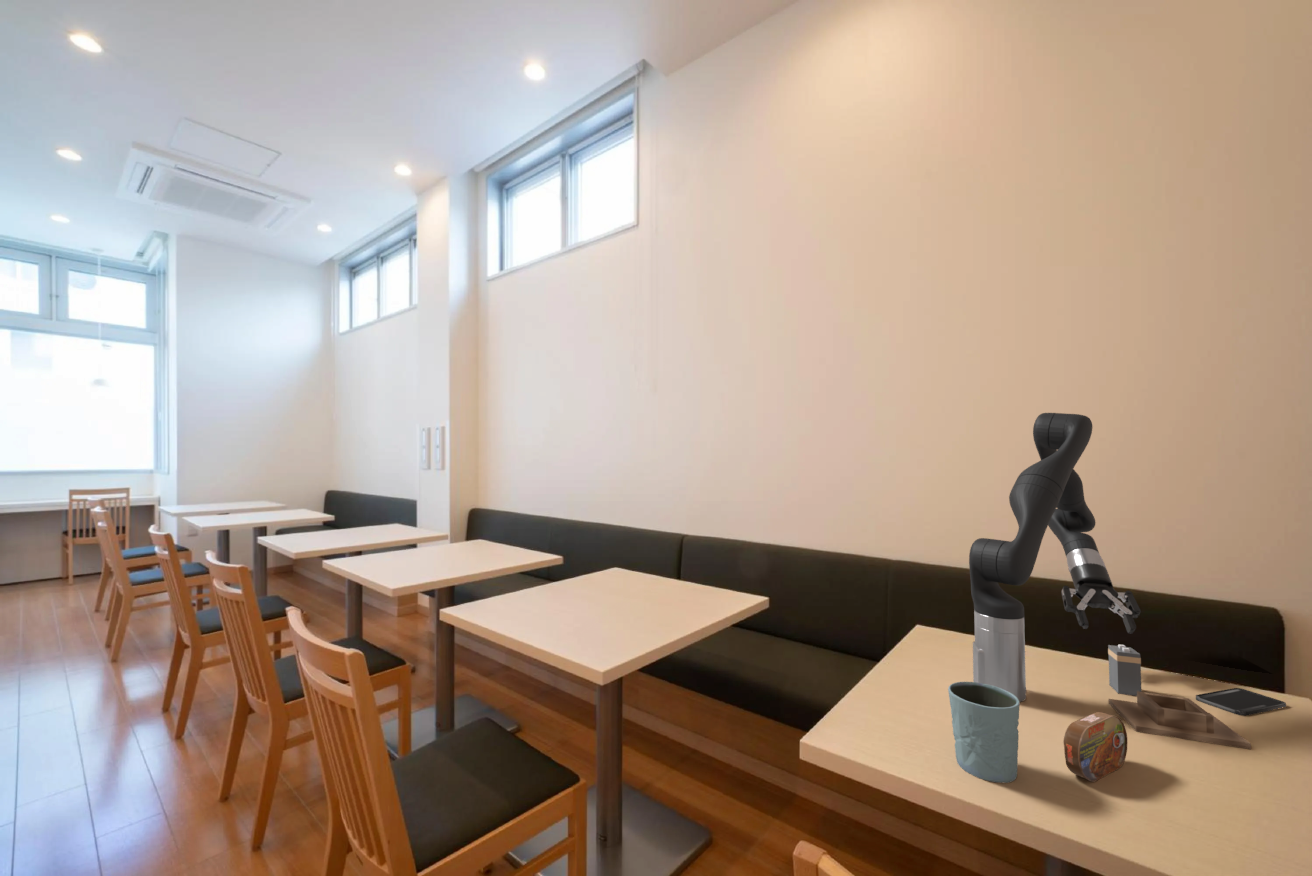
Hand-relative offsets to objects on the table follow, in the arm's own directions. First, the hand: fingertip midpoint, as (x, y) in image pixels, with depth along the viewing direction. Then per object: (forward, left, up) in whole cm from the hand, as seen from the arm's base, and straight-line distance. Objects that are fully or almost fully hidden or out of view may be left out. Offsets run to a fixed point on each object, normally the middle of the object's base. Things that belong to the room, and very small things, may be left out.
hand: (1108, 629), depth 123 cm
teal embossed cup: (-35, -53, -11) cm, 64 cm away
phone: (+20, -6, -12) cm, 24 cm away
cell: (0, -8, -11) cm, 13 cm away
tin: (-18, -47, -11) cm, 51 cm away
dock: (+2, -23, -11) cm, 25 cm away
